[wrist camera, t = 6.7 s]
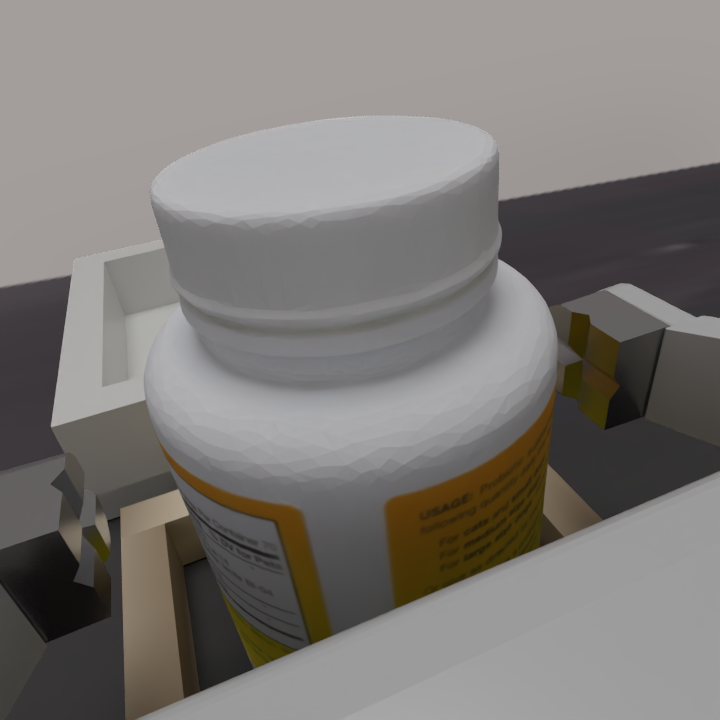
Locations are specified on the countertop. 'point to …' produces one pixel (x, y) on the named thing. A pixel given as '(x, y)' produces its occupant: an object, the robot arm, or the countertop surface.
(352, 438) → the supplement bottle
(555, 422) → the countertop surface
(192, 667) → the wooden frame
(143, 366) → the tray
